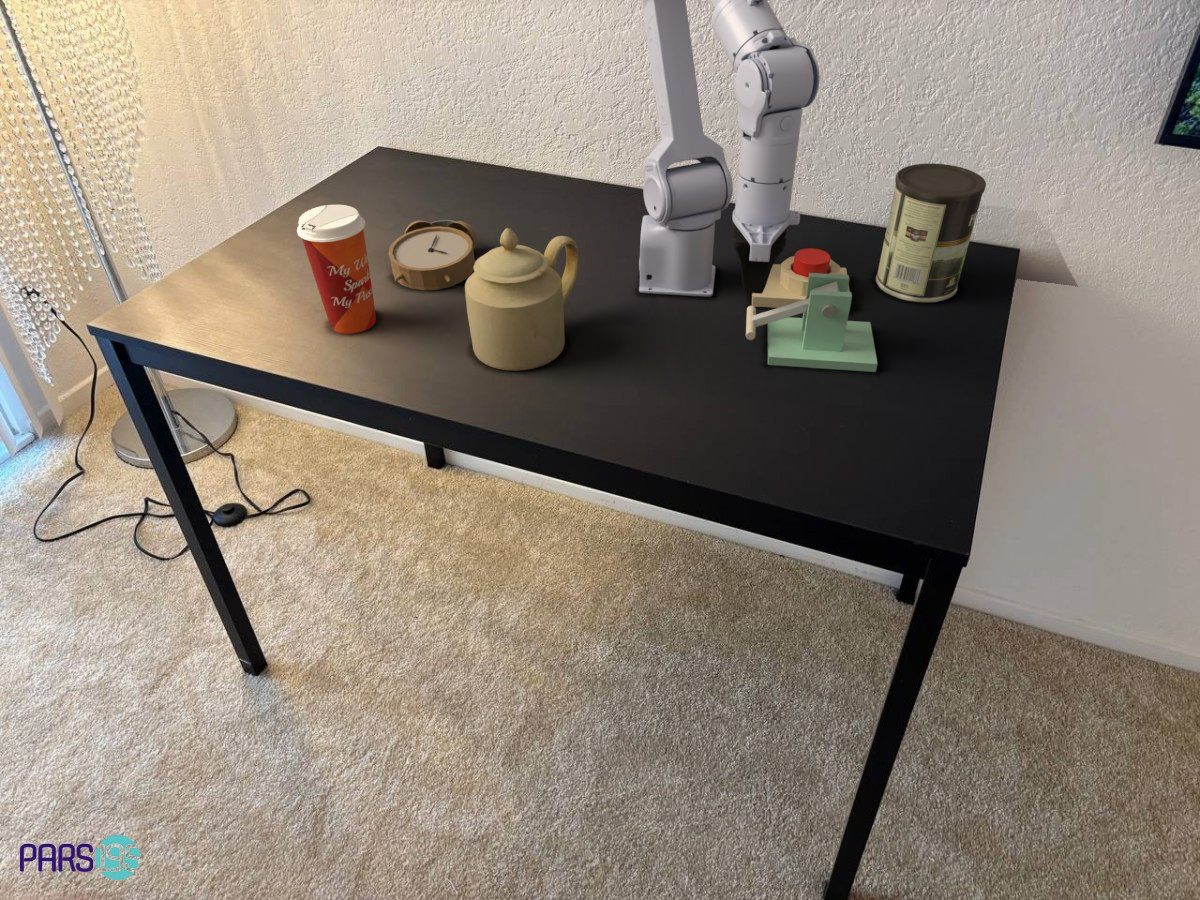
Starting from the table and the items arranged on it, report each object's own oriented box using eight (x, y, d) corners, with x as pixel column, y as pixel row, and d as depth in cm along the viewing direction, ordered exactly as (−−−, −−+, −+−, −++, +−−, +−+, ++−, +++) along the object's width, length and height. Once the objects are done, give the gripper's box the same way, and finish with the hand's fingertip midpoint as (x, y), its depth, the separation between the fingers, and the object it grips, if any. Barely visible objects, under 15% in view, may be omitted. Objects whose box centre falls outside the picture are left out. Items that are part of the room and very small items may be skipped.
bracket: (767, 365, 98) (775, 301, 93) (767, 324, 105) (775, 262, 100) (875, 372, 97) (890, 307, 91) (868, 330, 104) (881, 268, 98)
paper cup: (353, 344, 103) (328, 236, 94) (308, 328, 106) (279, 221, 98) (398, 315, 108) (377, 210, 99) (353, 300, 112) (330, 197, 103)
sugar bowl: (502, 302, 111) (490, 189, 101) (584, 311, 108) (581, 197, 99) (458, 365, 99) (440, 245, 90) (549, 377, 97) (541, 256, 88)
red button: (793, 278, 108) (795, 263, 106) (792, 261, 111) (794, 247, 110) (829, 280, 107) (831, 265, 106) (827, 263, 110) (829, 249, 109)
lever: (749, 345, 99) (742, 329, 97) (750, 319, 103) (743, 302, 102) (844, 317, 95) (838, 299, 93) (841, 290, 99) (835, 272, 98)
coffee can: (952, 268, 115) (980, 164, 106) (961, 306, 107) (992, 198, 98) (872, 262, 117) (893, 160, 108) (876, 299, 109) (899, 192, 100)
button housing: (751, 306, 108) (754, 282, 106) (752, 272, 115) (755, 248, 113) (849, 312, 107) (854, 287, 105) (844, 277, 114) (848, 253, 111)
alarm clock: (377, 270, 111) (404, 203, 121) (386, 300, 115) (412, 233, 125) (462, 273, 110) (483, 205, 120) (468, 302, 114) (488, 235, 124)
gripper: (807, 204, 83) (790, 325, 92) (803, 149, 94) (788, 262, 103) (734, 201, 84) (723, 321, 92) (738, 146, 95) (728, 258, 103)
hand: (753, 290), depth 98 cm, fingers closed
